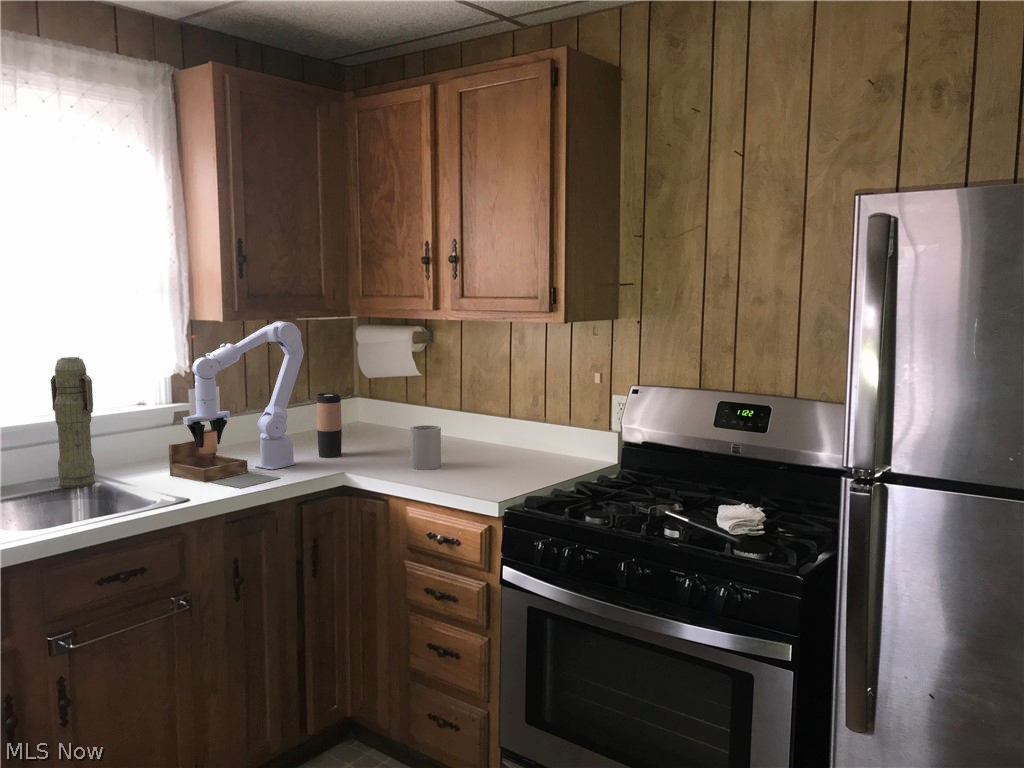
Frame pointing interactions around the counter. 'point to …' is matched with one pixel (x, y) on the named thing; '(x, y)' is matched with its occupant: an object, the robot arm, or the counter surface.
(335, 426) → the travel mug
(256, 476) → the slate mat
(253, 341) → the robot arm
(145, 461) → the counter surface
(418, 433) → the cup
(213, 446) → the peach orange cylinder
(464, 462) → the counter surface
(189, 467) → the potting tray
